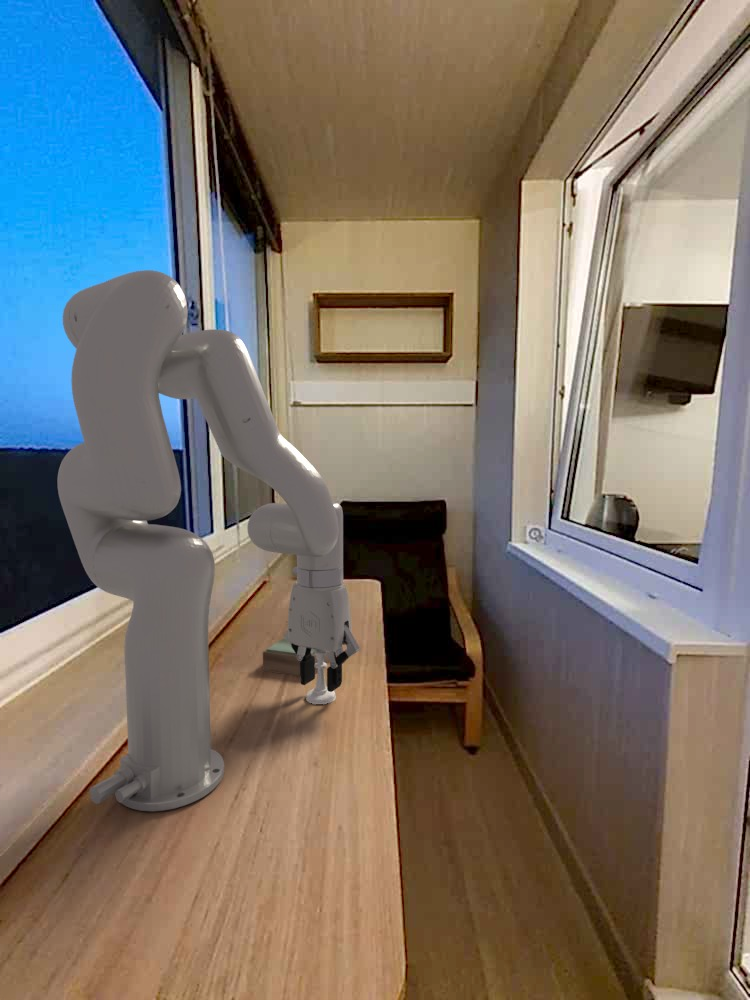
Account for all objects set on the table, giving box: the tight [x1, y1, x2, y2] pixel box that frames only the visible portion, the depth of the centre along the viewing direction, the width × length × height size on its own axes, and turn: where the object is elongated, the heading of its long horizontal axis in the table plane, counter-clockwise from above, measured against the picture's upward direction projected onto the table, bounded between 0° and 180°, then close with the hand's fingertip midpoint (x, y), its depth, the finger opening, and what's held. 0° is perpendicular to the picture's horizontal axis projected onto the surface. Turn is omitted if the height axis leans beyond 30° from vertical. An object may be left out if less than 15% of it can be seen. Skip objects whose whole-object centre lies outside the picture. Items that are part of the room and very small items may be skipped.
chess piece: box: [305, 650, 337, 705], centre depth 90 cm, size 5×5×10 cm
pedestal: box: [262, 637, 330, 677], centre depth 105 cm, size 10×10×4 cm
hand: (320, 684), depth 90 cm, fingers open, 4 cm apart
